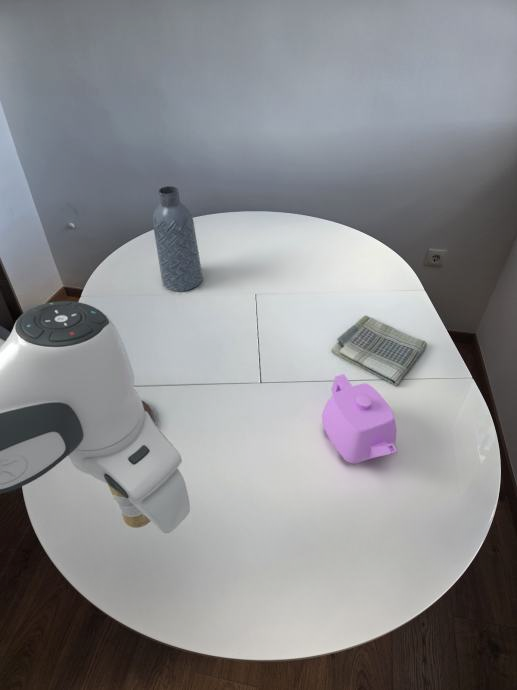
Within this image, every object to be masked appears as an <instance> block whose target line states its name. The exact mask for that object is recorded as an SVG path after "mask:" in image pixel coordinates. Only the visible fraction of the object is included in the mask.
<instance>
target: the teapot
mask: <svg viewBox="0 0 517 690" xmlns="http://www.w3.org/2000/svg"><path fill="white" fill-rule="evenodd" d="M331 392H332V395H331V396H330V398H329V399H328V400H327V402H326V403H325V405H324V407H323V410H322V414H321V421H322V426H323V428H324V429H323V430H324V431H325V433H326V436H327V438H328V439H329V441H330V442H331V445H332V447H334V449H335V450H336V452H338V454H340V456H341V457H342V458H343V460H344V461H346V463H347V462H348V463H349V464H359V463H362V462H365V461H370V460H371V459H374V458H379V457H384V456H388V455H392V454H394V453H397V452H398V449H397V448H396V446H395V444H396V441H397V425H396V424H397V423H396V418H395V415H394V412H393V410H392V409H391V407H390V405H389V404H388V403H387V401H386V399H385V398H384V397H383V395H381V394H380V393H379V392H378V391H377V390H376V389H375V388H374V387H373V386H372V385H370V384H369V383H364V382H363V383H360V384H356V385H352V384H351V382H350V380H349V379H348V378H347V376H346V374H345V373H343V374H339V375H335V377H334V379H333V382H332V385H331Z"/></svg>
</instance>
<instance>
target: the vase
mask: <svg viewBox="0 0 517 690" xmlns="http://www.w3.org/2000/svg"><path fill="white" fill-rule="evenodd" d="M157 193H158V198H159V204H158V205H157V207H156V208H155V210H154V211H153V216H152V225H153V226H152V227H153V231H154V232H153V233H154V239H155V240H154V241H155V246H156V253H157V259H158V264H159V271H160V272H159V273H160V278H161V282H162V284H163V286H164V287H165V288H166V289H168V290H169V291H173V292H187V291H190V290H193V289H195V288H196V287H198V286H200V284H201V283H202V281H203V269H202V265H201V259H200V252H199V247H198V240H197V235H196V233H197V232H196V228H195V222H194V218H193V214H192V212H191V210H190V208H189V207H188V206H187V205H186V204H184V203H183V202H182V201H181V199H180V193H179V189H178V188H177V187H176V186H173V185H168V186H167V185H166V186H163V187H160V188H159V189H158V192H157Z"/></svg>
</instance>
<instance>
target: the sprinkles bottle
mask: <svg viewBox="0 0 517 690" xmlns="http://www.w3.org/2000/svg"><path fill="white" fill-rule="evenodd" d="M107 485H108V484H107ZM108 489H109V490H110V493H111V495H112V497H113V500H114V503H115V504H116V506H117V509H118V511H119V512H120V513H121V515H122V520H123V522H124V523H125V524H126V525H127V526H128V527H130V528H134V529H135V528H137V529H139V528H142V527H145V526H147V525H148V524H149V523H150V522H151V521H150V520H149V519H148V518H147V517H146V516H145V515H143V514H142V513H141V512H140V511H139V510H138V509H137V508H136V507H135V506H134V505H133V504H132V503H131V502H130V501H129V500H128V499H126V498H125V497H124V496H123V495H121V494H120V493H119V492H118V491H116V490H115V489H114V488H112V487H111V486H110V485H108Z"/></svg>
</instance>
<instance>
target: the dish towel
mask: <svg viewBox="0 0 517 690" xmlns="http://www.w3.org/2000/svg"><path fill="white" fill-rule="evenodd" d="M336 341H338V342H337V343H336V344H334V345H333V346H332V348H331V350H330V351H331V352H332V354H335V355H337V356H338V357H340V358H342V359H344V360H346V361H348V362H350V363H352V364H354V365H356V366H358V367H360V368H362V369H364V370H366V371H367V372H370V373H371V374H373V375H374V376H377V377H378V378H380V379H383V380H385V381H386V382H388V383H389V384H391V385H392V386H398V385H399V383H400V382H401V381H402V380H403V378H404V376H406V374H407V373H408V372H409V371H410V370H411V369H412V367H413V366H414V364H415V363H416V361H417V360H418V359H419V358H420V357H421V355H422V354H423V352H424V351H425V349H426V347H427V345H428V344H427V341H426V340H423V339H419V338H416V337H414V336H411V335H409V334H407V333H405V332H403V331H400V330H398V329H396V328H394V327H393V326H391V325H387V324H385V323H383V322H381V321H379V320H377V319H375V318H373V317H372V316H371V317H370V316H369V315H363V316H362V317H361V318H360V319H358V321H357V322H356V323H354V324H353V325H352V326H351V327H350V328H348V329H347V330H346V331H345V332H343V333H342V334H341V335H339V337H337V339H336Z"/></svg>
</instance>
